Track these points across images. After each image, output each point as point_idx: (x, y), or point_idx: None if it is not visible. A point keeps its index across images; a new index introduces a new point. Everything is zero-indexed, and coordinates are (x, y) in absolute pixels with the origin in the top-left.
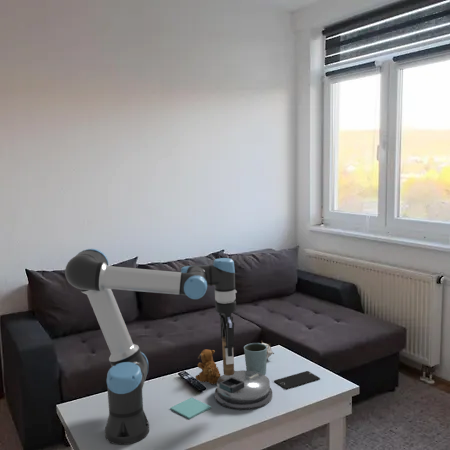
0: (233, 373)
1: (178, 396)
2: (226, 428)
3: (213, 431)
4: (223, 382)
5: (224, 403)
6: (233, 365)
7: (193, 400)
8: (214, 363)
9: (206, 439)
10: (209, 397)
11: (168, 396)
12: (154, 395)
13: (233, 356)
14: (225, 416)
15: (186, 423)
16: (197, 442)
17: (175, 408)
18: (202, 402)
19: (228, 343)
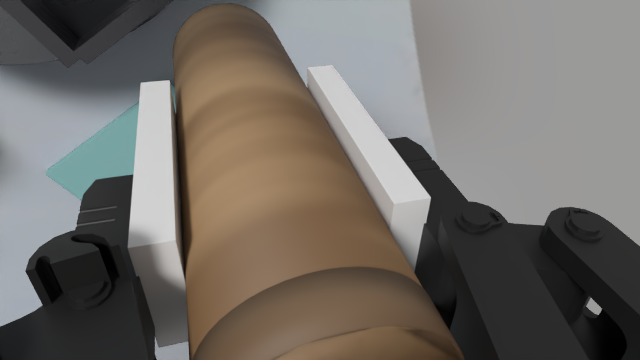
0: (264, 20)
1: (18, 229)
2: (383, 30)
3: (385, 90)
4: (55, 31)
5: (163, 8)
6: (275, 44)
7: (86, 167)
8: None
9: (427, 121)
10: (26, 77)
11: (20, 268)
12: (10, 318)
13: (283, 83)
14: (274, 16)
15: None
16: (431, 151)
17: None
18: (114, 124)
19: (623, 355)
